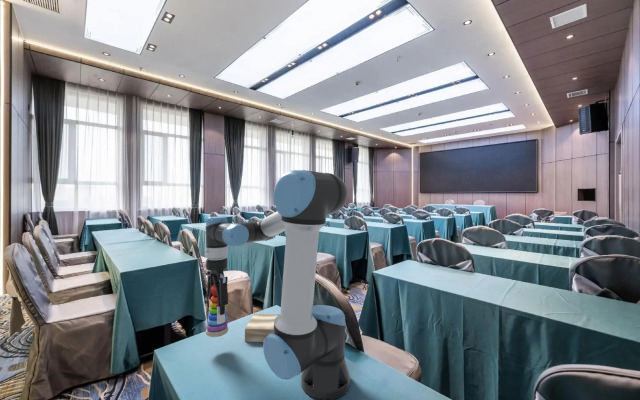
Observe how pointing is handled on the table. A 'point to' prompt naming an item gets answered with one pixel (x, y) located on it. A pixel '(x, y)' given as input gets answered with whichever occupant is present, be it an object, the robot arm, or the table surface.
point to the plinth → (259, 327)
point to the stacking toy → (215, 318)
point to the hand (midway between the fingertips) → (217, 319)
